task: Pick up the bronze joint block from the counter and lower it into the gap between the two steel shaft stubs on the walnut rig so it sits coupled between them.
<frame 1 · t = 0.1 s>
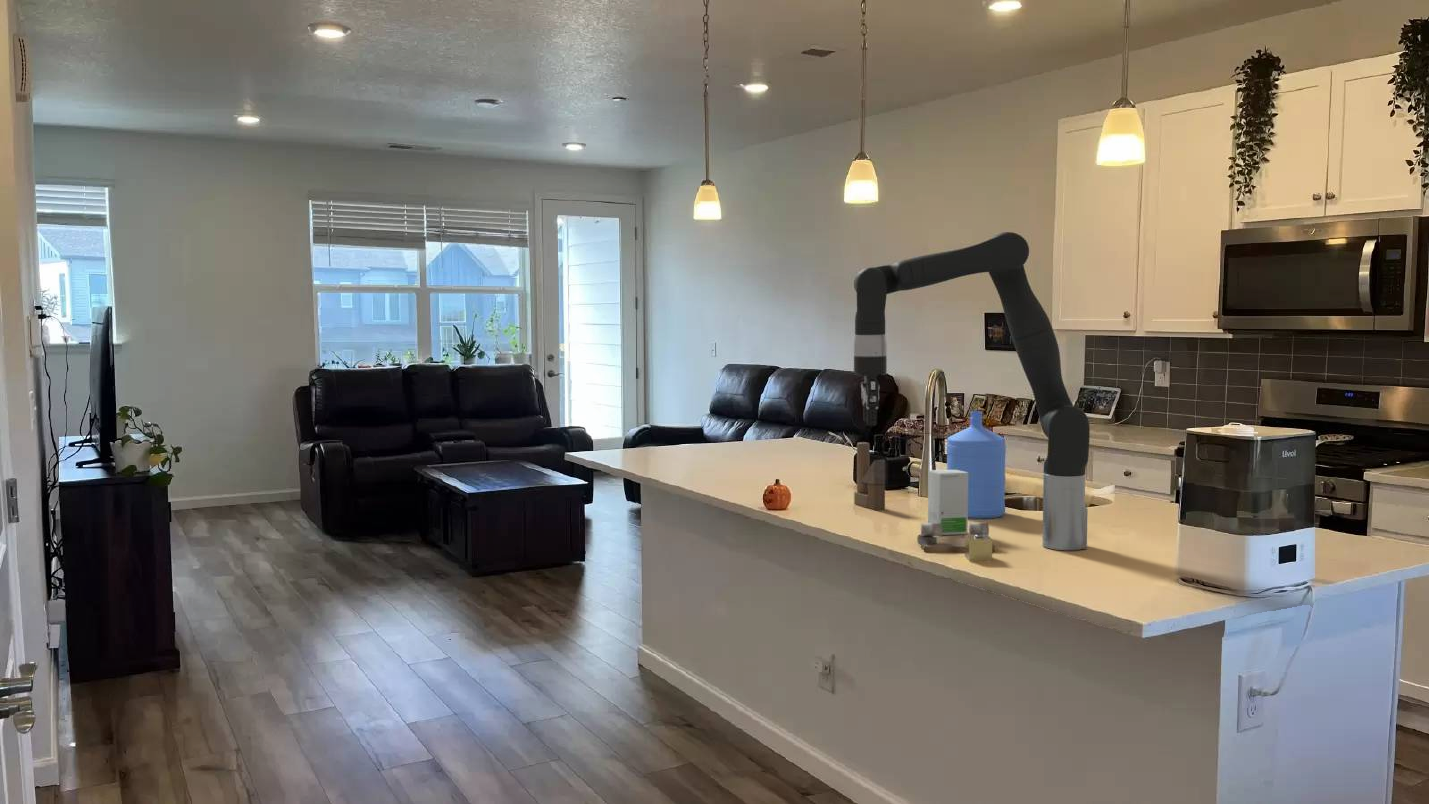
hand: (870, 423, 241), 29 cm above the worktop, tool pointing down, fingers open, 8 cm apart
water jug: (975, 514, 282), on the worktop
skincare box: (947, 533, 258), on the worktop
rig: (955, 546, 242), on the worktop
joint block: (978, 559, 230), on the worktop
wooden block: (869, 507, 294), on the worktop
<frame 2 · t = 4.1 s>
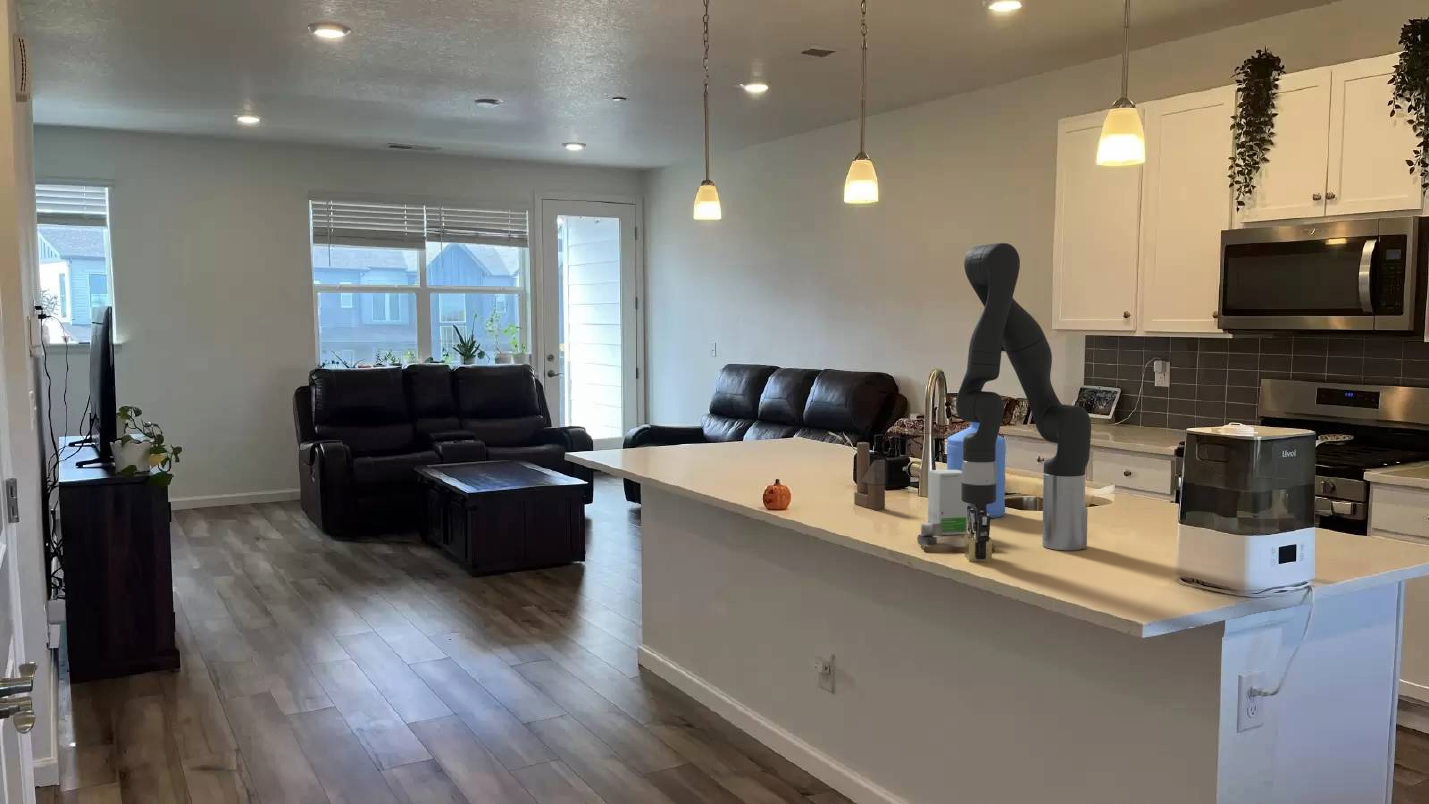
hand: (978, 555, 230), 1 cm above the worktop, tool pointing down, fingers closed on joint block, 5 cm apart
joint block: (978, 558, 230), on the worktop, touching gripper
everything else where it was.
when the fingers open (3 cm above the worktop, at t = 9.3 s): joint block drops 1 cm, resting on rig.
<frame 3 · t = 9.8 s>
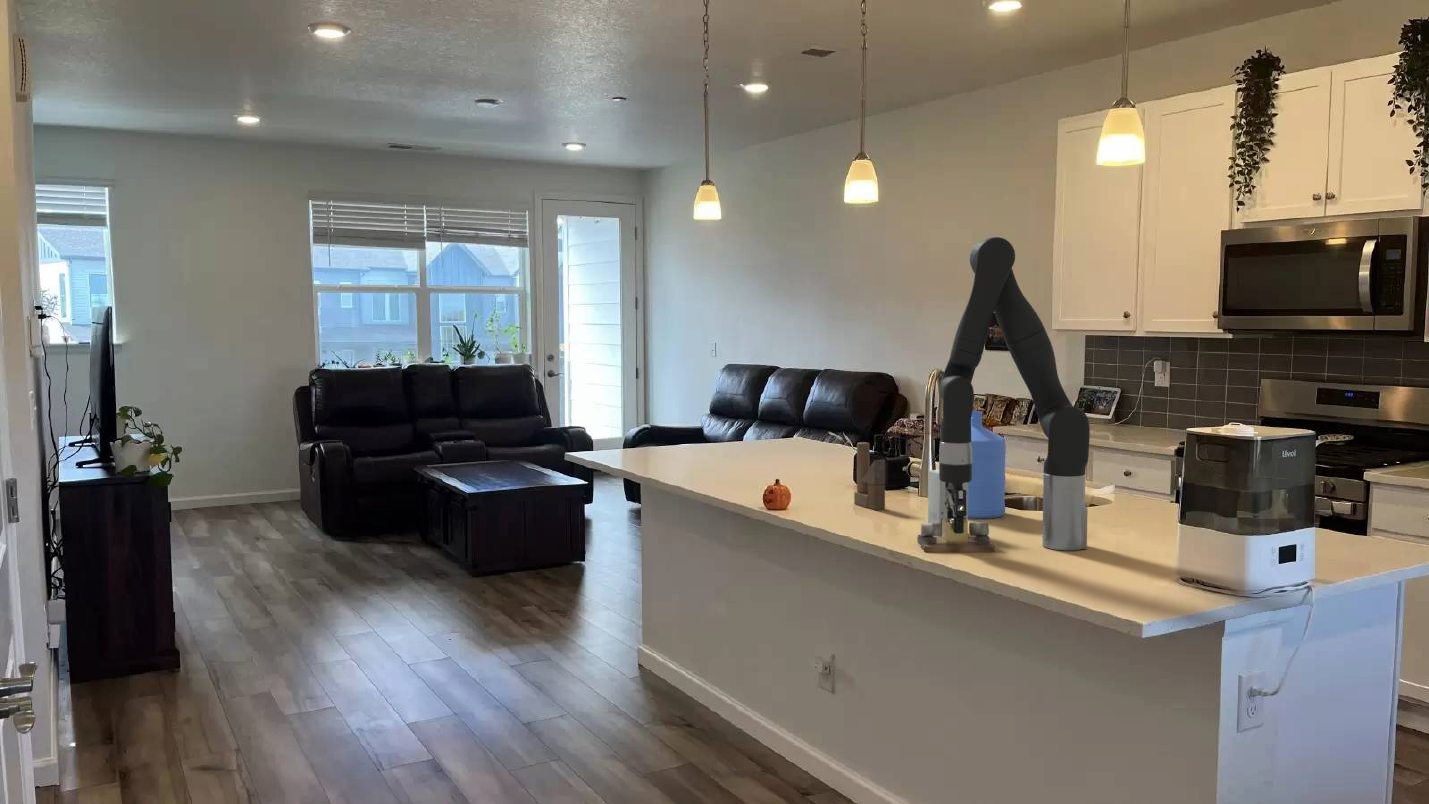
hand: (955, 529, 242), 4 cm above the worktop, tool pointing down, fingers open, 8 cm apart
joint block: (954, 541, 242), point 1 cm above the worktop, touching rig
everything else where it was.
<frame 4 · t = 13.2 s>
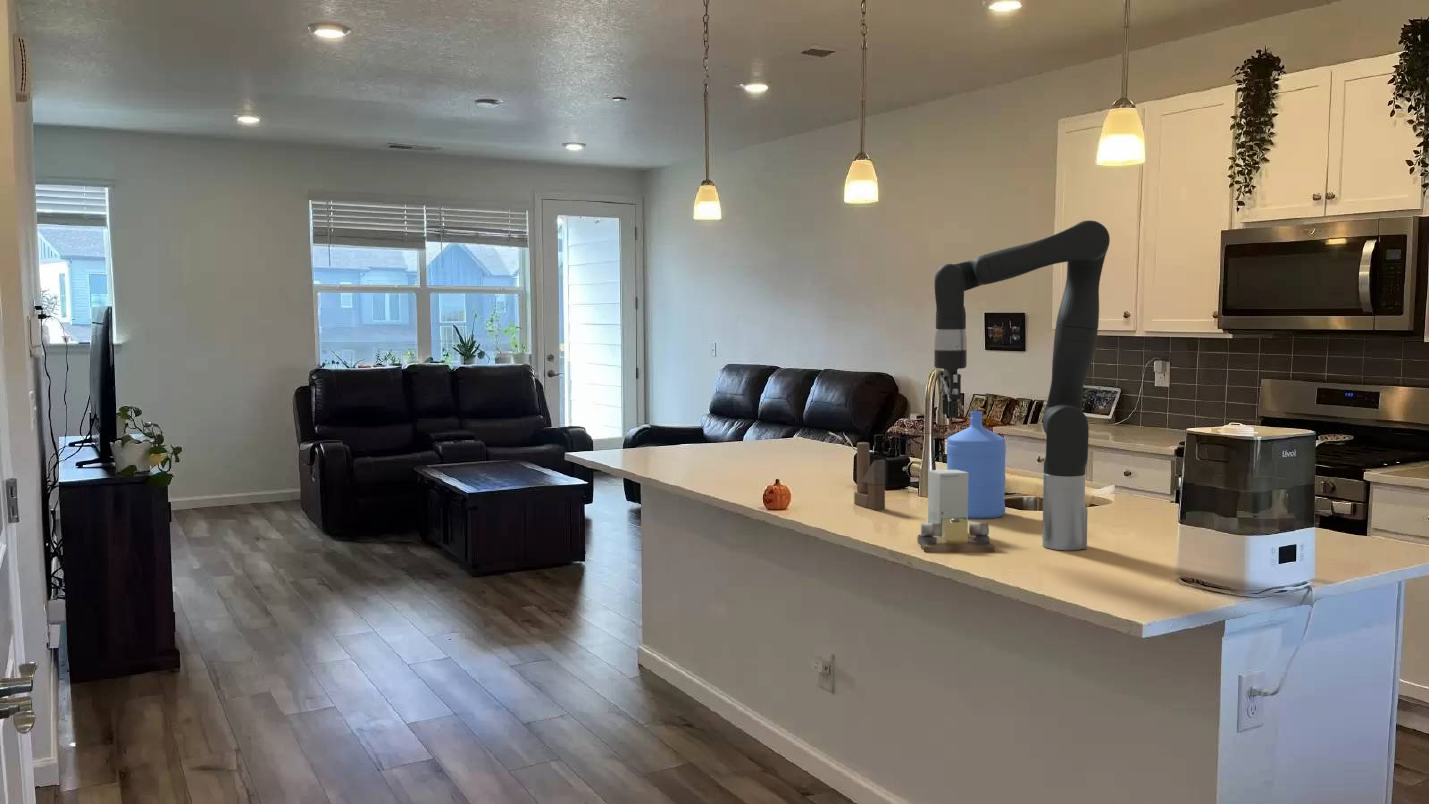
hand: (950, 415, 248), 30 cm above the worktop, tool pointing down, fingers open, 8 cm apart
nothing on the worktop moved.
at the end: joint block 0.1 cm off-centre on the rig, point 1.2 cm above the rig's base; joint block tilted 0°; the gripper is holding nothing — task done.
